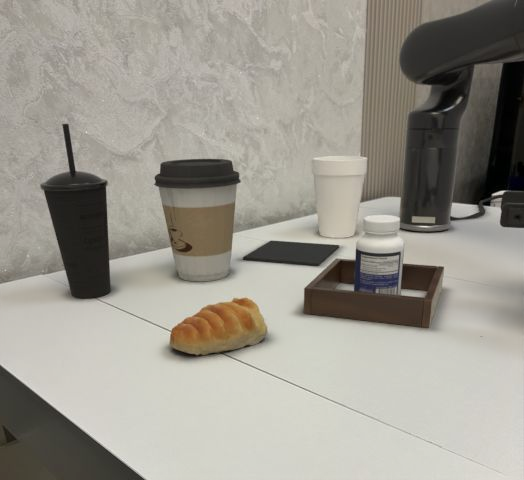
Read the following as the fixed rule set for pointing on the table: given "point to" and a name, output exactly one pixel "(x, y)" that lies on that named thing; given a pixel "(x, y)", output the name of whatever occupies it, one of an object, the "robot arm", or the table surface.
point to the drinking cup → (80, 226)
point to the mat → (292, 253)
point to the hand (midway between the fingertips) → (501, 207)
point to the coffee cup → (199, 215)
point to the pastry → (220, 328)
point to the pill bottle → (379, 256)
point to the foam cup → (338, 193)
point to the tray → (374, 296)
